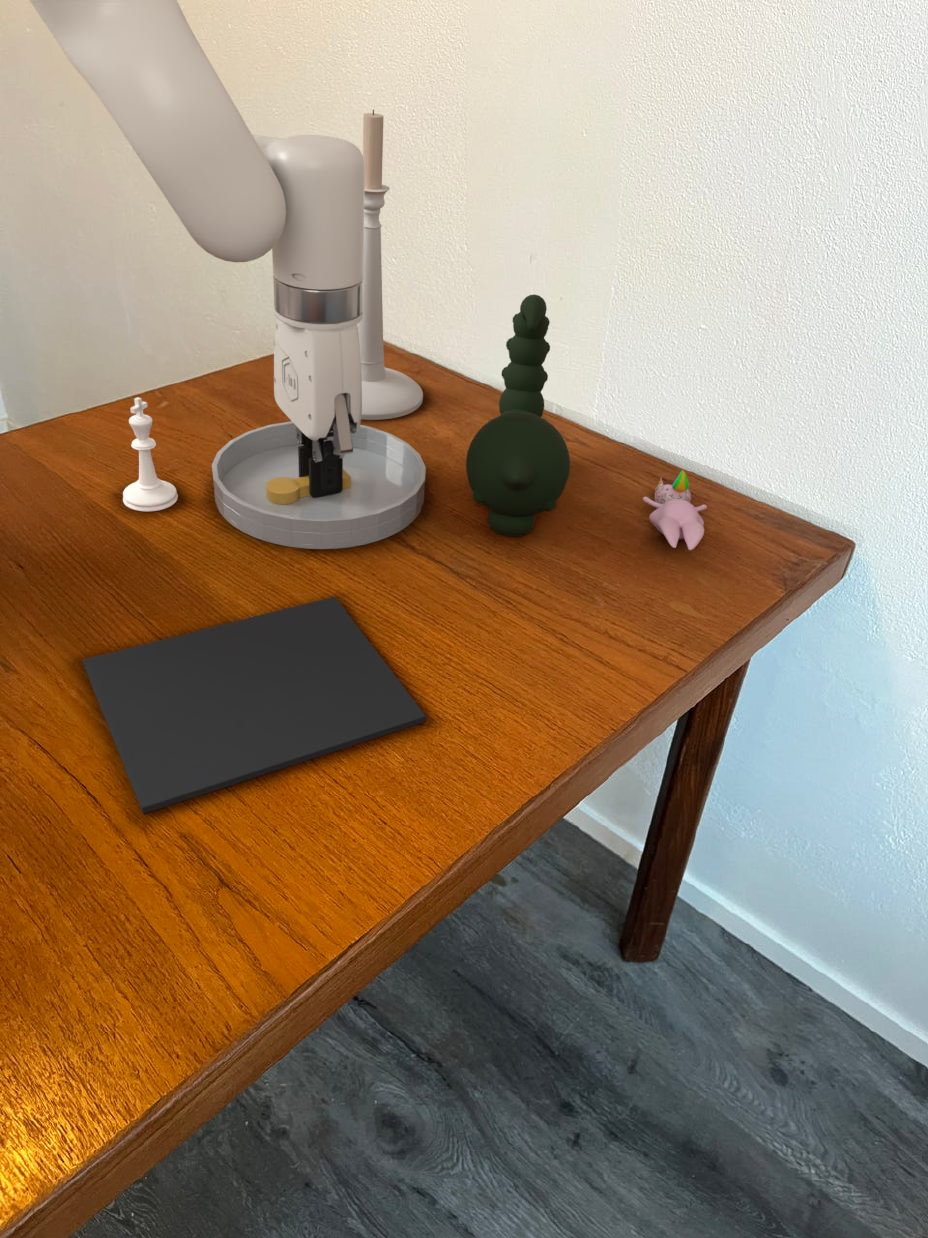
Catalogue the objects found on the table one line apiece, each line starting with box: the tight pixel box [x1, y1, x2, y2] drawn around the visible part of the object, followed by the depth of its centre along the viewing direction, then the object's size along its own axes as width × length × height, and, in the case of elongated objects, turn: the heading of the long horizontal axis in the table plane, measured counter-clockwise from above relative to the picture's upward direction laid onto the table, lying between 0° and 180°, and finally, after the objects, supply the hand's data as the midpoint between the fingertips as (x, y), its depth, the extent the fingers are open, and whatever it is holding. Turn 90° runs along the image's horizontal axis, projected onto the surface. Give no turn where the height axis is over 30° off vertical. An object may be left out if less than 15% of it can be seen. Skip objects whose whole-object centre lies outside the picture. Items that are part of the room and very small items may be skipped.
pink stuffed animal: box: [642, 470, 708, 551], centre depth 92 cm, size 6×6×15 cm
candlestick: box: [357, 109, 424, 421], centre depth 104 cm, size 13×13×30 cm
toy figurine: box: [465, 294, 571, 537], centre depth 91 cm, size 9×19×25 cm
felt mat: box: [82, 596, 427, 814], centre depth 70 cm, size 20×16×1 cm
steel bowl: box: [211, 420, 427, 550], centre depth 93 cm, size 20×20×3 cm
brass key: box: [266, 469, 351, 504], centre depth 93 cm, size 8×3×1 cm, turn 120°
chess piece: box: [122, 396, 179, 513], centre depth 88 cm, size 5×5×10 cm
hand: (320, 486), depth 94 cm, fingers closed on brass key, 1 cm apart
